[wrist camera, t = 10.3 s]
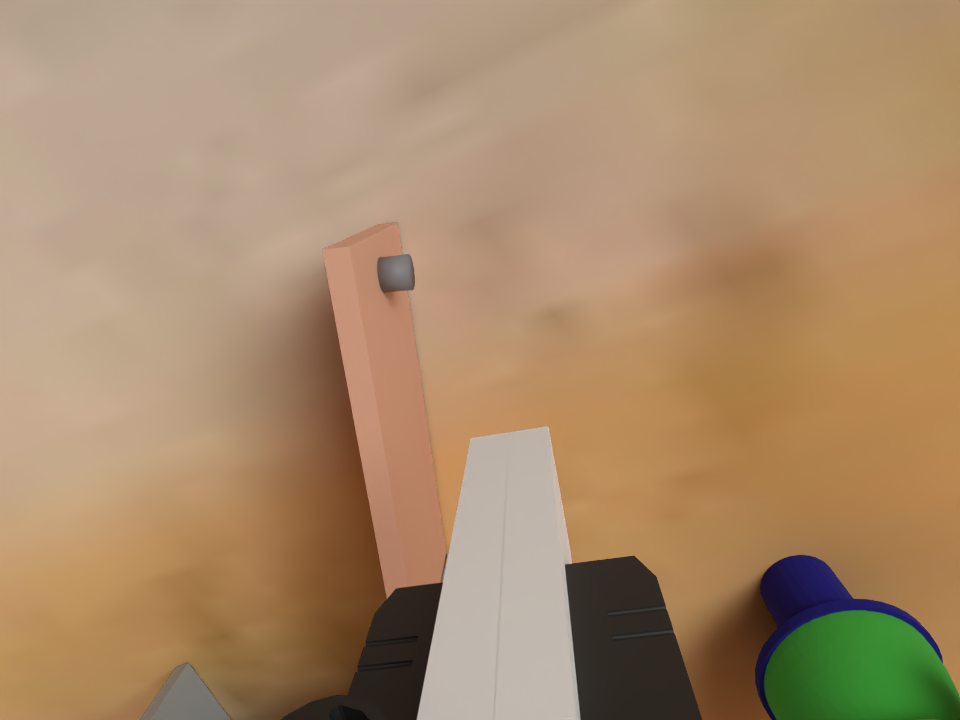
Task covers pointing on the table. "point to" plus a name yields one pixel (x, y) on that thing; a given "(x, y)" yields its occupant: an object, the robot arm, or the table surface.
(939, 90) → the table surface
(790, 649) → the toy
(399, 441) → the door
